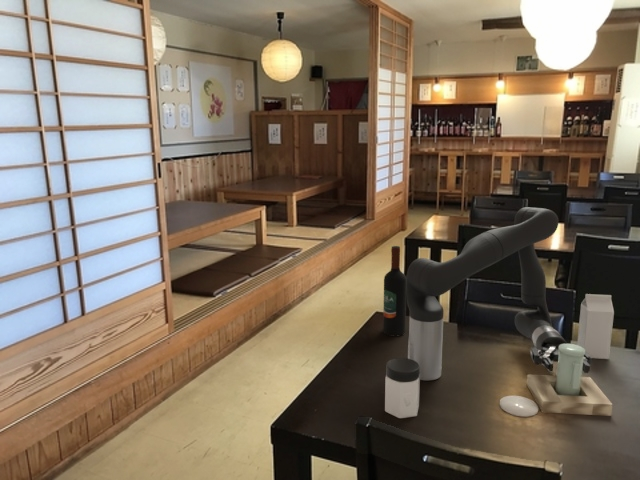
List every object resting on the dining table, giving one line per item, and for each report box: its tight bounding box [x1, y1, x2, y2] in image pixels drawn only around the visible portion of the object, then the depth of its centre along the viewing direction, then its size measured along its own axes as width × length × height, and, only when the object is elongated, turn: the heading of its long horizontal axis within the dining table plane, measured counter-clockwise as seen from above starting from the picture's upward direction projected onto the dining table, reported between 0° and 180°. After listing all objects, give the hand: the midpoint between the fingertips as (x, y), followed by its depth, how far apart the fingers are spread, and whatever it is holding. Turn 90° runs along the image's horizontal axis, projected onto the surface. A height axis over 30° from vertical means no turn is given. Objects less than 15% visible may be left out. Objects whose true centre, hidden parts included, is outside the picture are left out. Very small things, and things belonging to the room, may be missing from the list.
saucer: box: [499, 395, 539, 418], centre depth 129 cm, size 9×9×1 cm
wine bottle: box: [382, 245, 407, 337], centre depth 174 cm, size 8×8×30 cm
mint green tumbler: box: [555, 343, 585, 396], centre depth 130 cm, size 6×8×14 cm
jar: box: [384, 357, 421, 419], centre depth 127 cm, size 9×8×12 cm
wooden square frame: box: [526, 374, 613, 417], centre depth 132 cm, size 16×14×3 cm
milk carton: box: [576, 293, 615, 360], centre depth 156 cm, size 7×7×19 cm
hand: (569, 368), depth 131 cm, fingers open, 8 cm apart
